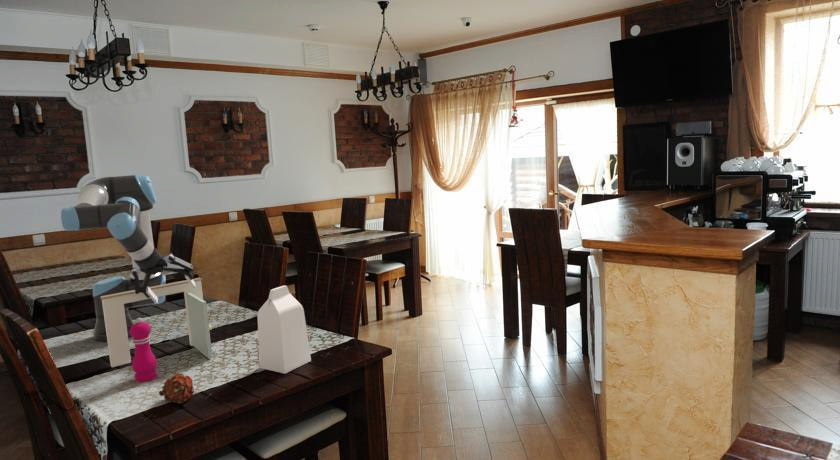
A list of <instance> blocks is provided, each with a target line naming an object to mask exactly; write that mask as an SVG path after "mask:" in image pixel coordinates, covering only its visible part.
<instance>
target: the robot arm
mask: <svg viewBox="0 0 840 460" xmlns="http://www.w3.org/2000/svg"><path fill="white" fill-rule="evenodd" d="M155 204H157V198H156V194H155V190H154V185H153V183H152V180H151V178H150V177H149V175H147V174H146V175H144V174H143V175H142V174H129V175H120V176H119V175H118V176H104V177H101V178H97V179H94V180H92V181H90V182H88V183H86V184H85V185H84V186H83V187H82V188H81V189H80V191H79V193H78V200H77V201H76V203H75V205H74V206H68V207H63V208H62V209H61V211H60V220H61V224H62V228H63V229H64V230H65V231H67V232H71V231H75V232H76V231H78V232H79V231H84V230H93V229H94V230H95V229H104V228H107V229H108V231H109V233H110V234H111V235H112V237H113V238H114V239H115V240H116V241H117V242H118V243H119V244H120V245H121V247H122V248H123V249H124V250H125V252H126V253H127V254H128V255H129V257H130V258H131V264H132V268H131V273H130V274H129V279H126V278H125V276H121V275H119V276H113V277H109V278H105V279H101V280H99V281H97V282H95V283H94V284H93V286H92V298H93V304H94V311H95V317H96V321H95V325H94V330H93V340H95V341H97V342H107V334H106V327H105V320H104V312H103V305H102V299H101V298H100V296H105V295H111V294H116V293H121V292H127V291H132V290H135V293H136V294H139V293H141V292H142V293H144V295H145V296H146V297H147V298H150V299H145V300H140V301H135V302H130V303H125V304H124V310H125V317H126V325H127V333H128V337H130V336H131V335H130V328H131V326H132V325H134V324H135V323H134V321H133V319H132V317H131V315H130V312H129V309H130V308H131V309H132V308H138V307H139V308H140V307H145V306H146V307H147V306H154V305H159V304H162V303H164V302H165V301H166V295H165V296H160V297H157V296H156V295H155V294H154V293H153V292H152V290H151V289H150V288H149V287H153V286H158V285H164V284H167V283H166V275H165V274H162V272H164V271H165V272H173V273H178V274H180V275H181V274H182V275H184V278H185V279H186V280H188V282H189V283H190V284H191V286H192V287H193V288H195V282H194V280H193V279H194V274H193V273H192V272H193V271H194V266H193V264H192V263H189V262H187V261H185V260H183V259H181V258H179V257H177V256H175V255H174V254H173V253H172V252H169V253H168V254H167V255H166V256H162V255H161V253H160V252H159V251H158V249H157V248H156V247H155V245H154V244H155V243H154V238H153V229H152V223H151V215H150V212H152V210H153V209H154V205H155ZM131 337H132V336H131Z"/></svg>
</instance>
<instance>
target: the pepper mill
mask: <svg viewBox="0 0 840 460" xmlns="http://www.w3.org/2000/svg"><path fill="white" fill-rule="evenodd" d="M151 328H152V327H151V326H150V324H149V323H147V322H145V321H143V318H141V317H137V318H136V319H135V323H134V325H132V326H131V328H130V335H131V337H132V344H133V345H134V348H135V349H134V350H135V352H134V357H133V359H132V362H131V368H132V369H131V370H132V371H133V372H134V373H135V375H134V379H135V381H136V383H137V382H138V383H144V382H145V383H146V382H150V381H152V380H155V379H156V378H157V376H158V372H157V370H156V368H157V366H158V361H157V358H156V356H155V354H154V353H153V351H152V349H151V345H150V341H151V336H150V334H151V331H152V329H151Z"/></svg>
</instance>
